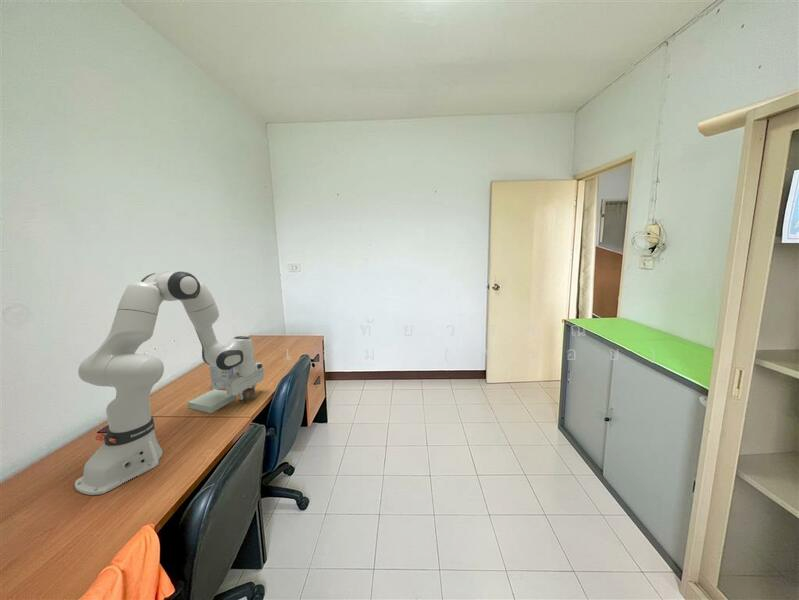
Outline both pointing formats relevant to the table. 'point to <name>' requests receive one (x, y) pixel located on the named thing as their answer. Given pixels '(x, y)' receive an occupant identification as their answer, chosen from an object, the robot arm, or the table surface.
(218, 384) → the ink cartridge box
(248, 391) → the walnut cube
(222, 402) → the base
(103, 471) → the robot arm
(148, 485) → the table surface
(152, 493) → the table surface
